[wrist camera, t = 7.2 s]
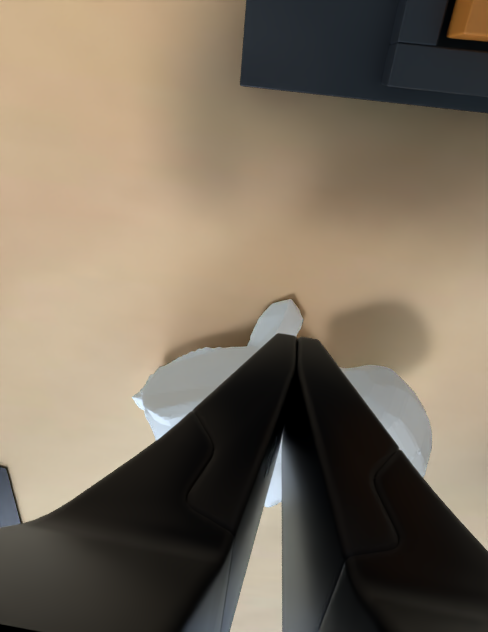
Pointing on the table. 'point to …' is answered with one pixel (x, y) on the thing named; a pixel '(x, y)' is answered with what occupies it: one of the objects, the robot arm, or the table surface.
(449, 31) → the key
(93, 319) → the table surface
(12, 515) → the black-topped pedestal
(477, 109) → the dark grey socket base
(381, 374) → the white lumpy shape
